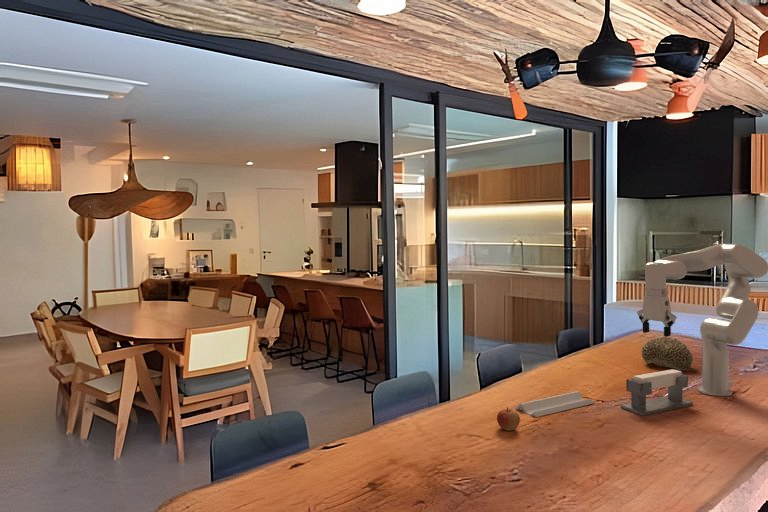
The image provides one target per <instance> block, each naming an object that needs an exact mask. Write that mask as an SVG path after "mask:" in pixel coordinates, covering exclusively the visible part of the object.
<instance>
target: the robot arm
mask: <svg viewBox="0 0 768 512" xmlns="http://www.w3.org/2000/svg"><path fill="white" fill-rule="evenodd" d="M722 265H724V268H725V272H726V275H727V277H728V278H727V279H728V283H727V287H726V289H725V291H724V292H723V294H722V295H721V297H720V298H719V300H718V303H717V305H716V307H715V313H716V315H718V316H719V317H721V318H719V317H707V318H705V319H704V320H703V321H702V322H701V323H700V327H699V332H700V337H701V342H702V354H701V356H702V358H701V359H702V361H701V362H702V363H701V385H699V386H697V391H698V392H700V393H702V394H704V395H709V396H714V397H730V396H732V395H733V391H732V390H731V389H730V387H733V386H734V385H735V382H734V381H732V380H731V381H730V380H729V363H730V362H729V359H730V358H729V356H730V355H729V354H730V352H729V348H728V345H733V346H738V345H741V343H743V342H745V341H744V340H745V339H746V338H747V337H748V335H749V333H750V331H751V330H752V328H753V326H754V325H755V323H756V321H757V319H758V316H759V306H758V304H757V303H756V302H755V301H754V300H751V299H748V298H749V296H750V294H751V289H752V288H751V283H750V281H749V279H748V278H751V279H752V278H754V279H755V278H756V279H759V278H763V277H765V276H766V274H767V273H768V262H767V261H766V259H765V258H763V256H761V255H760V254H758V253H756V252H755V251H753V250H751V249H750V248H748V247H747V246H745V245H742V244H740V243H718V244H714V245H711V246H708V247H704V248H702V249H699V250H695V251H694V250H693V251H689V252H685V253H679V254H674V255H668V256H665V257H662V258H659V259H657V260H655V261H651V262H650V261H649V262H647V263H646V264H645V266H644V276H645V279H644V281H645V295H643V296H644V297H643V303H642V309H639V310H638V311H636V313H637V316H638V319H639V320H640V323H641V324H642V333H644V334H645V333H649V332H650V322H649V321H653V322H654V321H655V322H662V324H663V325H664V326H663V337H671V333H672V331H671V330H672V329H671V328H672V327H673V325H674V324H676V323H675V322H676V320H677V319H678V318H677V316H676V315H675V314H673V313H672V309H671V303H670V299H669V296H667V295H668V294H669V291H668V290H667V280H675V281H676V280H681V279H684V278H685V276H686V275H687V273H688V272H702V271H706V270H709V269H712V268H715V267H718V266H722ZM727 344H728V345H727Z"/></svg>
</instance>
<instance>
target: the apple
mask: <svg viewBox="0 0 768 512" xmlns="http://www.w3.org/2000/svg"><path fill="white" fill-rule="evenodd" d="M496 421H497V424H498V426H499V427H500V428H501V429H502V430H504V431H507V432H510V431H512V432H513V431H515V430H516V429H517V428H518V426H520V423H521V422H520V421H521V417H520V414H519V413H518V412H517V411H516V409H515V410H514V409H511V408H509V407H506V408H503V409H501V410H499V411H498V412H497V416H496Z"/></svg>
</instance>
